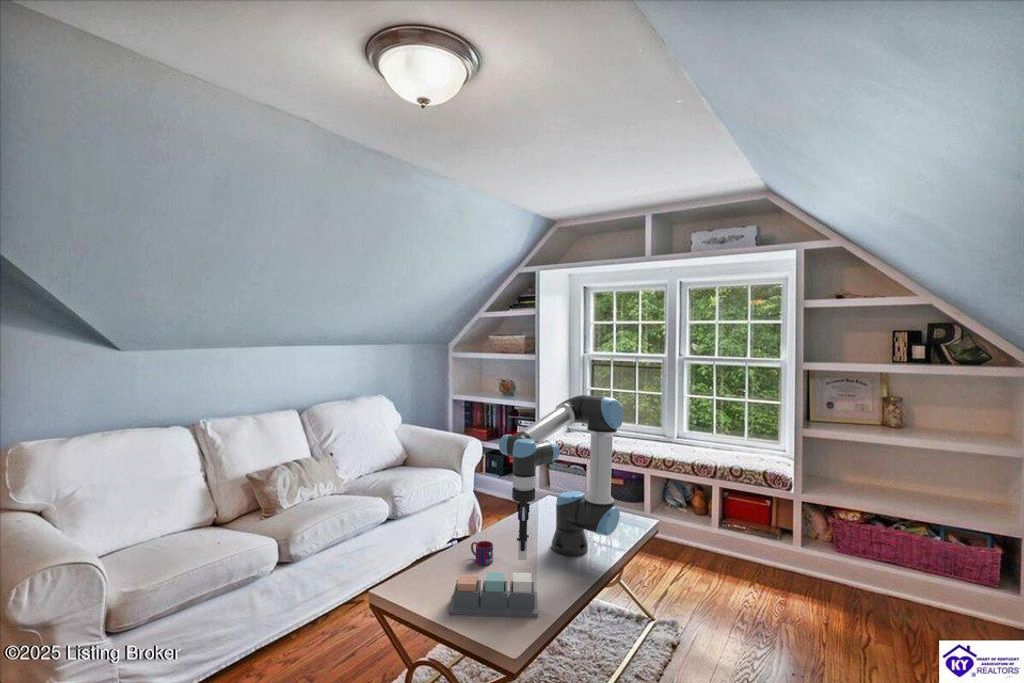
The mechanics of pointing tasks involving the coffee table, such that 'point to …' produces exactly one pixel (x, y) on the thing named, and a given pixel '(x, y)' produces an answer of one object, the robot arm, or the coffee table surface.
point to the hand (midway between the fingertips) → (522, 558)
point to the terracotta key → (467, 583)
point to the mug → (483, 552)
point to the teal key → (494, 582)
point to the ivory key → (522, 583)
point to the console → (494, 602)
